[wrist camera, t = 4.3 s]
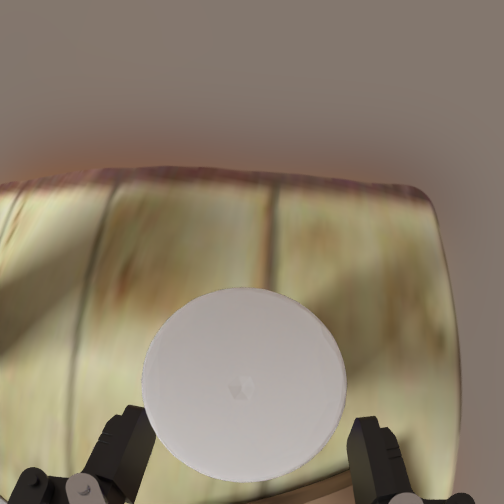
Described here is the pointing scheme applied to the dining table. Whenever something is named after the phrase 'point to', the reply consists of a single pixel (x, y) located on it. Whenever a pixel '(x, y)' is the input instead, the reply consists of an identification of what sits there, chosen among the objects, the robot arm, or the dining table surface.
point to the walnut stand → (318, 493)
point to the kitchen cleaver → (2, 501)
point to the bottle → (244, 384)
